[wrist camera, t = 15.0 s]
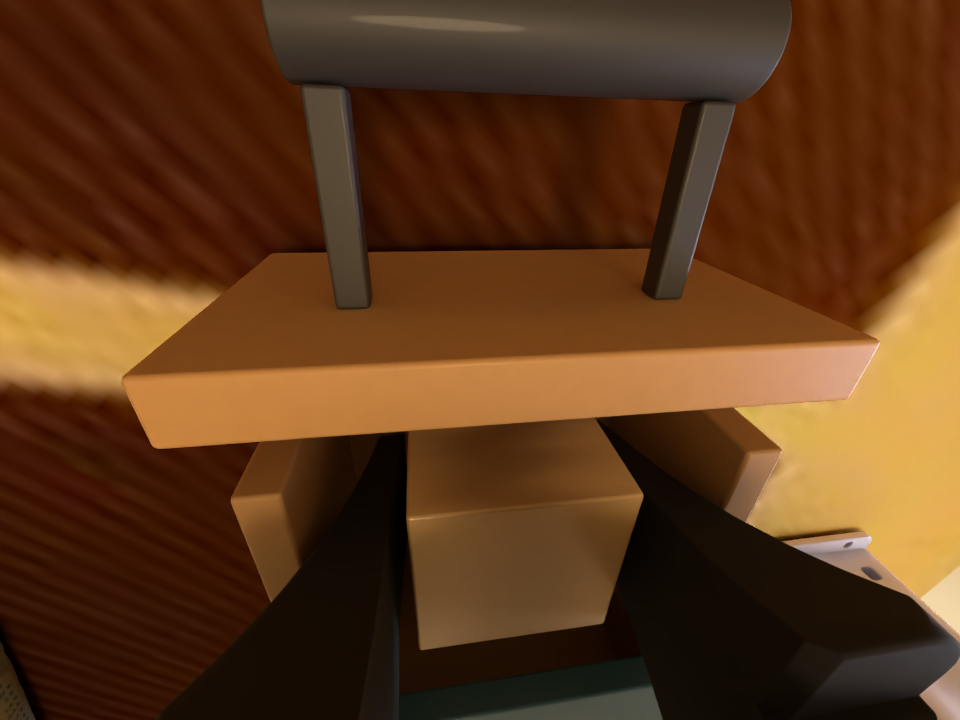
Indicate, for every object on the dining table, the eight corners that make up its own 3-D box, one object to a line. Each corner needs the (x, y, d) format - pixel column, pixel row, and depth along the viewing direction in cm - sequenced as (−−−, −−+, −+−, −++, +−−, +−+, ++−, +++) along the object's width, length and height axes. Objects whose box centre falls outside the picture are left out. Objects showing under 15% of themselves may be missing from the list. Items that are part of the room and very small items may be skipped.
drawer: (216, 16, 8) (-186, -226, 3) (722, 48, 10) (1119, -64, 4) (344, 571, 17) (311, 774, 11) (596, 542, 18) (671, 709, 13)
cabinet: (314, 480, 15) (234, 758, 8) (619, 454, 17) (758, 668, 10) (360, 667, 22) (337, 901, 15) (573, 635, 24) (636, 834, 17)
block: (558, 359, 12) (646, 495, 7) (543, 468, 14) (604, 625, 10) (409, 366, 11) (405, 519, 7) (417, 480, 13) (418, 652, 9)
